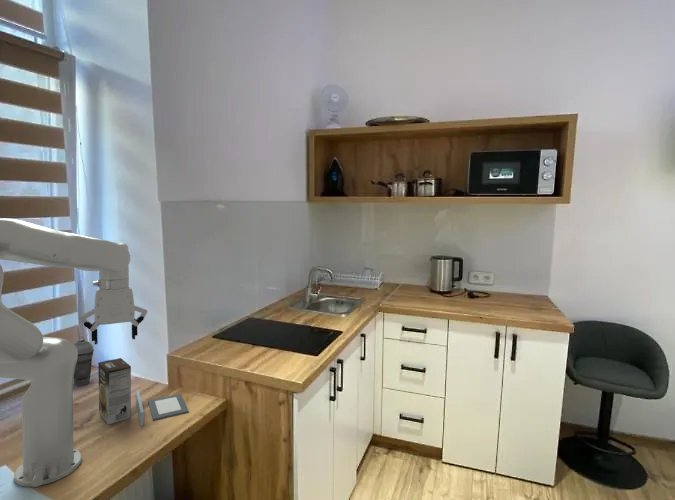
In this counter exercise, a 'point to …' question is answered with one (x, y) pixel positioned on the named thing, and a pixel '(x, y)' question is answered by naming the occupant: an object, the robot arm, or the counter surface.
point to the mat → (167, 407)
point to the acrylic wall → (139, 408)
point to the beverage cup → (83, 362)
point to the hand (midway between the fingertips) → (115, 340)
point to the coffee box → (114, 390)
